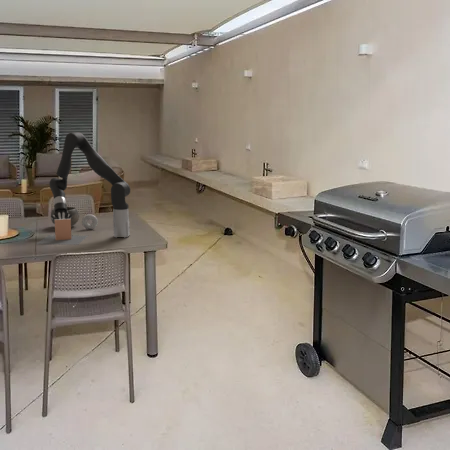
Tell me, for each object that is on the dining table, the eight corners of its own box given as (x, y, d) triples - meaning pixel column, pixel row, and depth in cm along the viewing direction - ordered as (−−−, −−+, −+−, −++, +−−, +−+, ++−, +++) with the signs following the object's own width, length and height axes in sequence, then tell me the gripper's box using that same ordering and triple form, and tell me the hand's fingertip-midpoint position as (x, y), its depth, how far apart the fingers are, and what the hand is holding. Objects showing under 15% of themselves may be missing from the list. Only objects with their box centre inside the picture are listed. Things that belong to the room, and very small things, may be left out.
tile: (55, 239, 314) (54, 219, 312) (71, 238, 317) (70, 218, 315) (55, 240, 312) (54, 220, 310) (71, 239, 316) (70, 219, 313)
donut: (82, 230, 344) (81, 215, 342) (82, 229, 347) (81, 214, 345) (98, 229, 346) (97, 214, 344) (98, 228, 349) (97, 213, 347)
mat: (88, 236, 326) (88, 235, 326) (78, 245, 302) (78, 244, 302) (49, 235, 326) (49, 235, 325) (35, 244, 302) (35, 244, 302)
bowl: (83, 224, 361) (82, 206, 359) (73, 230, 343) (72, 210, 341) (58, 224, 363) (57, 205, 360) (46, 229, 345) (45, 210, 343)
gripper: (49, 202, 322) (51, 225, 313) (71, 201, 327) (74, 224, 318) (49, 209, 328) (51, 232, 319) (71, 208, 333) (73, 231, 324)
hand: (62, 228), depth 319 cm, fingers closed
